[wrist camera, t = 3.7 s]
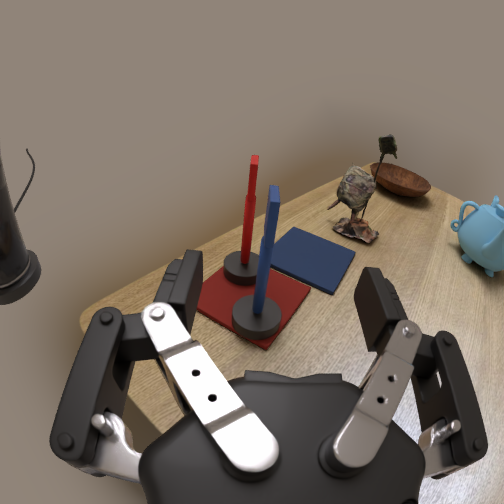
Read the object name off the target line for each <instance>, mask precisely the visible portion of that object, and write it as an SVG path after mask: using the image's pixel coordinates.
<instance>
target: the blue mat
mask: <svg viewBox="0 0 504 504" xmlns="http://www.w3.org/2000/svg"><path fill="white" fill-rule="evenodd" d="M354 255H355V251H352V250H350V249H347V248H345V247H343V246H340V245H338V244H335V243H333V242H331V241H328V240H326V239H323V238H321V237H318V236H316V235H313V234H311V233H308V232H306V231H303V230H301V229H298V228H296V227H293V228H291V229H290V230H289V231H288V232H287V233H286V234H285V235H284V236H283V237H282V238H281V239H279V240H278V241H277V242H276V243H275V244H274V247H273V254H272V260H271V266H270V267H272V268H274V269H276V270H278V271H280V272H283V273H285V274H287V275H289V276H291V277H294V278H296V279H298V280H300V281H302V282H305V283H307V284H309V285H311V286H313V287H316V288H318V289H320V290H322V291H324V292H326V293H329V294H331V295H333V293H334V291H335V290H336V288H337V286H338V284H339V282H340V281H341V279H342V277H343V275H344V274H345V272H346V270H347V268H348V266H349V264H350V263H351V261H352V259H353V257H354Z"/></svg>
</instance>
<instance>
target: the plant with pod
mask: <svg viewBox="0 0 504 504" xmlns="http://www.w3.org/2000/svg"><path fill="white" fill-rule="evenodd" d="M379 147H380V152H382V154H381V157H380V162H379V165H378V167H377V170H376V173H375V177H374V178H373V176H371V175H370V174H368V173H366V172H365V171H363V170H362V169H361V168H360V167H357V166H351V167H350V168H349V170H348V171H347V172H346V173H345V175H344V177H343V179H342V181H341V182H340V184H339V186H338V188H337V196H338V200H336V201H335V202H334V203H333V204H332V205H331V206H329V207H328V208H327V210H329V209H331V208H333V207H334V206H336V205H337V204H338V203H340V201H342V202H343V203H344V204H346V205H347V206H348V207H349V208H350V209H352V214H351V219H347V218H345V219H344V218H341V219H340V221H339V222H338V223H337V224H335V226H333V229H335V230H336V231H339V233H342V234H345V235H346V236H348V237H349V236H350V237H357V238H358V239H363V240H364V241H366V242H367V243H370V242H371V241H373V239H376V238H375V236H376V237H377V235H379V233H378V231H377V232H376V231H374V230H372V229H371V228H370V227H369V226H368V221H366V220H363V219H362V218H363V215H364V212H365V209H366V206H367V203H368V201H369V199H370V198H371V195H372V194H373V193H374V190H375V188H376V181H375V180H376V177H377V173H378V171H379V167H380V164H381V163H382V160H383V158H384V155H385V154H393V155H394V157H395V158H396V159H397V156H396V151H397V145H396V142H395V138H394V136H393V135H386V136H381V137H380V138H379ZM364 207H365V209H364V210H363V214H362V218H361V219H360V218H357V215H358V213H359V211H361V210H362V209H363V208H364Z"/></svg>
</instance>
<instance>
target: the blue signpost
mask: <svg viewBox="0 0 504 504" xmlns="http://www.w3.org/2000/svg"><path fill="white" fill-rule="evenodd" d="M279 208H280V196H279V187H278V186H274V185H270V188H269V195H268V203H267V210H266V217H265V225H264V236H263V237H262V239H261V246H260V254H259V262H258V269H257V277H256V284H255V291H254V295H248V296H244V297H242V298H240V299H239V300H238V301H236V303H235V304H234V306H233V308H232V325H233V327H234V329H235V331H236V332H237V333H239V334H240V335H241V336H243V337H245V338H248V339H251V340H263V339H267V338H269V337H271V336H273V335H274V334H275V333H276V332H277V330H278V328H279V325H280V321H281V317H282V313H281V309H280V307H279V306H278V304H277V303H276V302H275V301H273V300H272V299H270V298H268V297H265V295H266V289H267V283H268V277H269V272H270V266H271V260H272V254H273V247H274V239H275V233H276V227H277V221H278V214H279Z"/></svg>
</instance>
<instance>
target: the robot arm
mask: <svg viewBox="0 0 504 504" xmlns="http://www.w3.org/2000/svg"><path fill="white" fill-rule="evenodd" d="M26 151H27V153H28V155H29V156H30V158H31V160H32V163H33V172H32V175H31V178H30V181H29V183H28V185H27V187H26V189H25V191H24V192H23V194H22V196H21V198H20V199H19V201H18V203H17V205H16V207H15V208H14V210H13V206H12V202H11V199H10V195H9V191H8V187H7V183H6V179H5V174H4V169H3V164H2V159H1V151H0V290H3V289H6V288H9V287H11V286H13V285H15V284H16V283H18V282H19V281H20V280H21V279H22V278H23V277H24V276H25V275H26V274H27V272H28V271H29V269H30V266H31V259H30V256H29V254H28V252H27V249H26V247H25V244H24V241H23V238H22V235H21V232H20V229H19V226H18V223H17V220H16V216H15V212H16V210H17V208H18V206H19V204H20V202H21V201H22V199H23V197H24V195H25V193H26V191H27V189H28V187H29V185H30V183H31V181H32V178H33V175H34V171H35V164H34V161H33V159H32V157H31V155H30V154H29V152H28V149H26ZM202 284H203V254H202V251H197V250H186V252H185V255H184V257H183V260H181V259H175V260H173V261H172V262H171V263H170V264H169V265H168V267H167V269H166V272H165V274H164V276H163V279H162V281H161V284H160V286H159V288H158V291H157V293H156V296H155V298H154V301H153V303H151V304H149V305H147V306H146V307H145V308H144V309H143V311H142V312H141V313H137V314H128V315H122V313H121V312H120V310H118V309H117V308H114V307H105V308H102V309H100V310H98V311H97V312H96V313H95V314H94V315H93V317H92V320H91V322H90V324H89V326H88V329H87V331H86V333H85V336H84V338H83V341H82V343H81V346H80V348H79V350H78V353H77V356H76V358H75V361H74V363H73V366H72V369H71V371H70V374H69V377H68V380H67V383H66V385H65V388H64V391H63V394H62V397H61V401H60V403H59V407H58V410H57V413H56V417H55V420H54V423H53V427H52V431H51V434H50V446H51V449H52V451H53V452H54V454H55V455H56V456H57V457H59V458H60V459H62V460H64V461H65V462H67V463H68V464H70V465H71V466H73V467H75V468H77V469H79V470H81V471H83V472H85V473H88V474H91V475H93V476H96V477H103V476H106V475H107V476H111V477H115V478H119V479H122V480H126V481H131V482H135V483H140V484H141V485H142V487H143V490H144V492H145V495H146V499H147V503H148V504H418V497H419V491H420V486H421V483H422V480H423V478H427V477H431V478H433V479H441V478H443V477H446V476H448V475H450V474H452V473H454V472H456V471H459V470H461V469H463V468H465V467H467V466H469V465H471V464H473V463H474V462H476V461H478V460H480V459H482V458H483V457H484V456H485V454H486V452H487V449H488V441H487V436H486V432H485V427H484V423H483V419H482V415H481V412H480V408H479V404H478V401H477V397H476V394H475V391H474V387H473V384H472V381H471V378H470V375H469V372H468V369H467V366H466V364H465V361H464V358H463V355H462V353H461V350H460V348H459V345H458V342H457V340H456V338H455V337H454V336H453V335H452V334H451V333H449V332H447V331H439V332H438V333H437V334H436V335H435V337H433V336H429V335H426V334H422V332H421V329H420V328H419V326H418V325H417V324H415V323H414V322H412V321H410V320H408V318H407V316H406V313H405V311H404V308H403V306H402V304H401V301H400V300H399V297H398V295H397V292H396V290H395V288H394V286H393V284H392V283H391V282H390V281H389V280H388V279H387V278H384V277H383V274H382V272H381V270H380V269H379V268H373V267H365V268H364V269H363V271H362V274H361V276H360V279H359V281H358V284H357V286H356V288H355V292H354V302H355V305H356V309H357V312H358V316H359V319H360V323H361V326H362V330H363V334H364V337H365V341H366V345H367V349H368V352H377V356H376V358H375V359H374V361H373V363H372V364H371V366H370V368H369V370H368V372H367V373H366V375H365V377H364V378H363V380H362V382H361V383H360V385H359V387H357V386H355V385H354V384H352V383H349V382H346V381H343V380H342V374H315V375H311V376H306V377H301V378H290V377H286V376H283V375H279V374H275V373H272V372H263V371H249V370H245V374H244V377H240V378H235V379H232V380H229V381H226V380H225V378H224V377H223V376H222V374H221V373H220V371H219V370H218V369H217V367H216V366H215V364H214V363H213V361H212V360H211V359H210V357H209V356H208V354H207V353H206V351H205V350H204V348H203V347H202V345H201V344H200V343H199V342H198V341H197V340H195V341H193V340H192V338H191V337H190V334H191V330H192V326H193V321H194V317H195V313H196V309H197V305H198V301H199V297H200V293H201V289H202ZM150 359H154V360H155V362H156V364H157V366H158V367H159V369H160V371H161V373H162V375H163V377H164V379H165V381H166V382H167V384H168V386H169V388H170V390H171V392H172V394H173V396H174V398H175V400H176V402H177V404H178V406H179V407H180V409H181V411H182V413H183V414H184V417H183V418H182V419H181V420H179V421H178V422H177V423H176V424H175V425H173V426H172V427H171V428H170V429H169V430H167V431H166V432H165V433H164V434H162V435H161V436H160V437H159V438H158V439H156V440H155V441H154V442H152V443H151V444H150V445H149V446H148V447H147V448H146V449H145V450H144V452H143V453H142V454H141V453H138V452H136V451H135V450H134V447H133V443H132V442H133V441H132V440H133V438H132V434H131V431H130V430H129V428H128V427H127V426H126V425H125V424H124V423H123V421H122V415H123V410H124V406H125V401H126V397H127V393H128V388H129V384H130V380H131V376H132V372H133V368H134V365H135V361H141V360H150ZM438 371H439V375H440V378H441V382H442V385H441V389H440V385H439V381H438V378H437V374H436V373H437V372H438ZM410 377H411V381H412V385H413V390H414V394H415V399H416V404H417V409H418V414H419V419H420V425H421V431H422V433H421V435H420V437H419V440H418V444H417V443H416V442H415V441H414V440H413V439H412V438H411V437H410V436H408V435H407V434H406V433H405V432H404V431H403V430H402V429H401V428H400V427H399V426H398V425H397V424H396V423H395V422H394V421H393V420H392V418H393V416H394V414H395V412H396V409H397V407H398V405H399V403H400V401H401V398H402V396H403V394H404V392H405V389H406V387H407V384H408V382H409V380H410Z"/></svg>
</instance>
